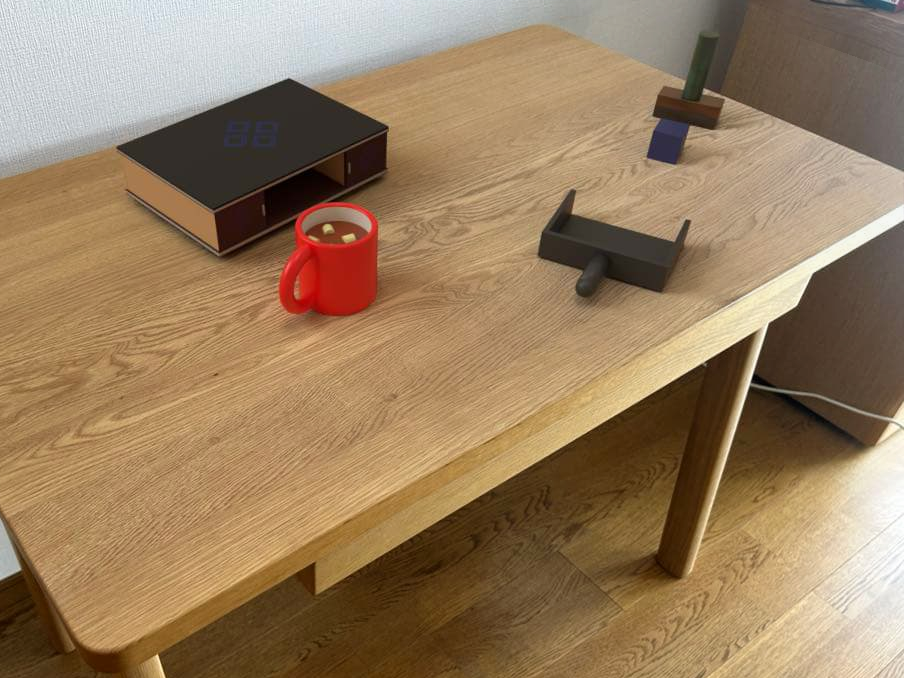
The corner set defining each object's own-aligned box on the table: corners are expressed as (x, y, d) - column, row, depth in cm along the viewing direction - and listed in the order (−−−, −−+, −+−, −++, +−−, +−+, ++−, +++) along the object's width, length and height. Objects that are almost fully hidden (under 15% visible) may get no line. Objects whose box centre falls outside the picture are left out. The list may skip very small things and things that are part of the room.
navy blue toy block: (653, 145, 109) (660, 118, 107) (682, 151, 108) (690, 124, 106) (646, 157, 107) (653, 130, 105) (675, 164, 106) (683, 137, 103)
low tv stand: (387, 178, 103) (389, 126, 98) (220, 264, 91) (213, 208, 86) (291, 128, 112) (289, 77, 107) (126, 199, 99) (115, 146, 95)
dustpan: (566, 214, 98) (571, 188, 96) (683, 246, 94) (691, 220, 91) (516, 287, 88) (520, 261, 86) (644, 326, 84) (652, 300, 82)
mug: (255, 316, 85) (248, 248, 79) (331, 259, 91) (329, 193, 86) (318, 348, 81) (315, 279, 76) (392, 286, 88) (394, 219, 83)
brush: (718, 120, 114) (745, 35, 106) (713, 130, 112) (740, 44, 104) (658, 107, 117) (679, 23, 109) (652, 116, 115) (673, 31, 107)
